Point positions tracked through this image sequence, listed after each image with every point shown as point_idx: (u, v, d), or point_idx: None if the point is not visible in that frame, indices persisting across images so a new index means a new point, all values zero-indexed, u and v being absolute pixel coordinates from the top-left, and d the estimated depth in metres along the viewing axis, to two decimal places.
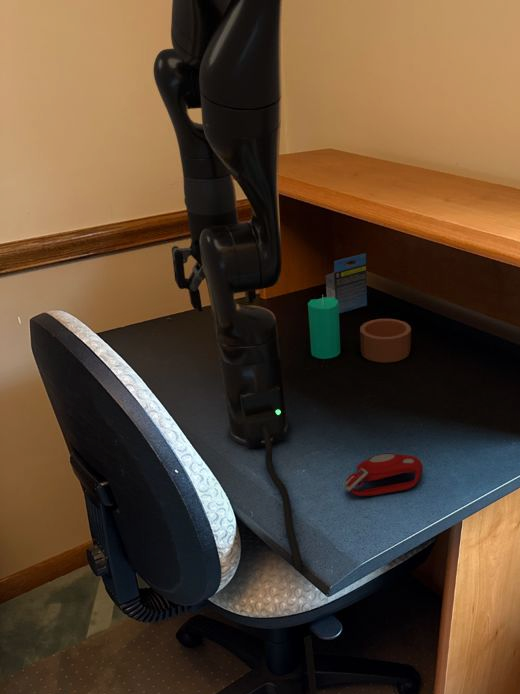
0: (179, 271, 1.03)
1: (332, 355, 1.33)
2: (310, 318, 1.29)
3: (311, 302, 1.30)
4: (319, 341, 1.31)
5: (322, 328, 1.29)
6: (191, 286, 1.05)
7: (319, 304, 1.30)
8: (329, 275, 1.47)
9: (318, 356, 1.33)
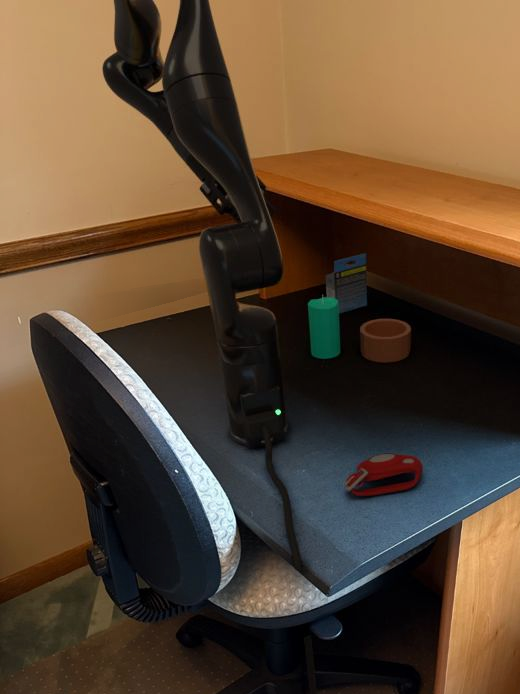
0: (218, 192, 1.17)
1: (332, 355, 1.33)
2: (310, 318, 1.29)
3: (311, 302, 1.30)
4: (319, 341, 1.31)
5: (322, 328, 1.29)
6: (233, 203, 1.18)
7: (319, 304, 1.30)
8: (329, 275, 1.47)
9: (318, 356, 1.33)
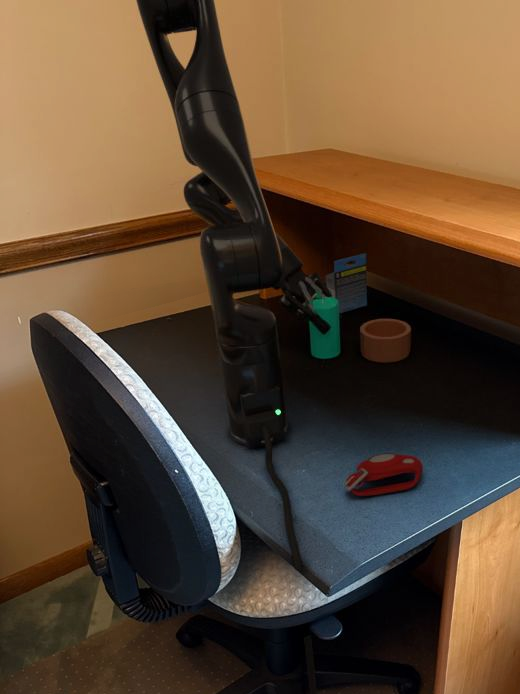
0: (299, 304, 1.25)
1: (332, 355, 1.33)
2: None
3: None
4: (319, 341, 1.31)
5: None
6: (313, 311, 1.27)
7: (319, 304, 1.30)
8: (329, 275, 1.47)
9: (318, 356, 1.33)
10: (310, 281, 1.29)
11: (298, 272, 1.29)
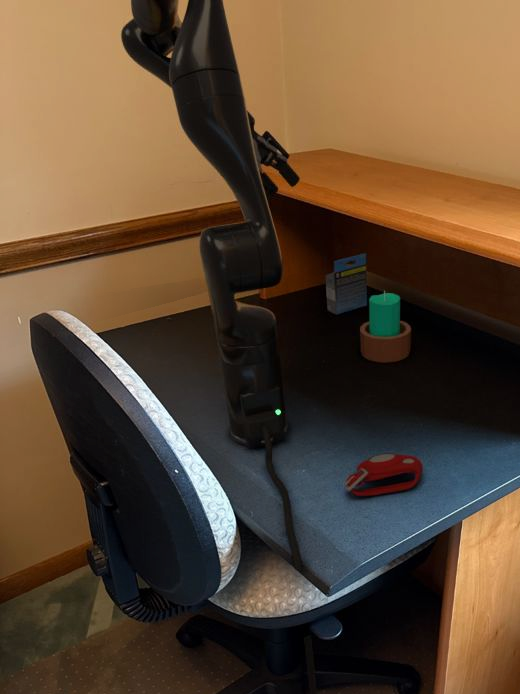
0: None
1: None
2: (371, 314, 1.29)
3: (372, 298, 1.29)
4: None
5: (384, 324, 1.29)
6: None
7: (380, 300, 1.29)
8: (329, 275, 1.47)
9: None
10: (263, 141, 1.18)
11: (250, 131, 1.18)
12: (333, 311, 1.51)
